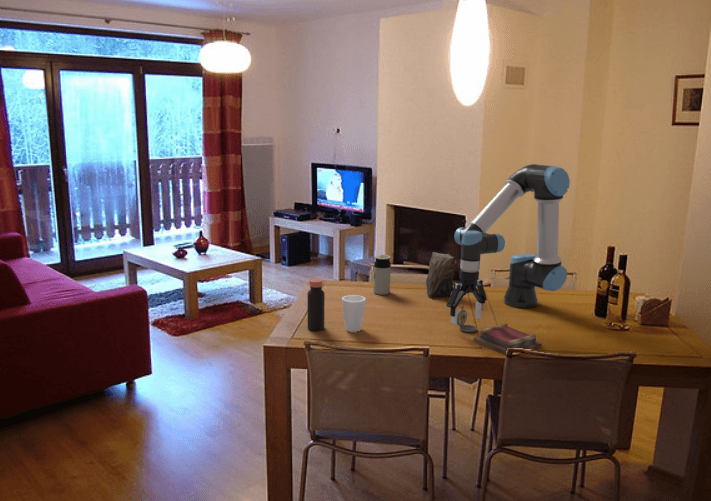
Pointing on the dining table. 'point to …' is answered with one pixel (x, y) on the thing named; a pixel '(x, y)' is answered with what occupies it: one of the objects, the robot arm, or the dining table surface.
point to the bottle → (316, 305)
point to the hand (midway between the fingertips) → (465, 320)
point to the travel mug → (382, 274)
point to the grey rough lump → (440, 275)
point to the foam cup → (353, 312)
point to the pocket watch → (462, 317)
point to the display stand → (506, 339)
